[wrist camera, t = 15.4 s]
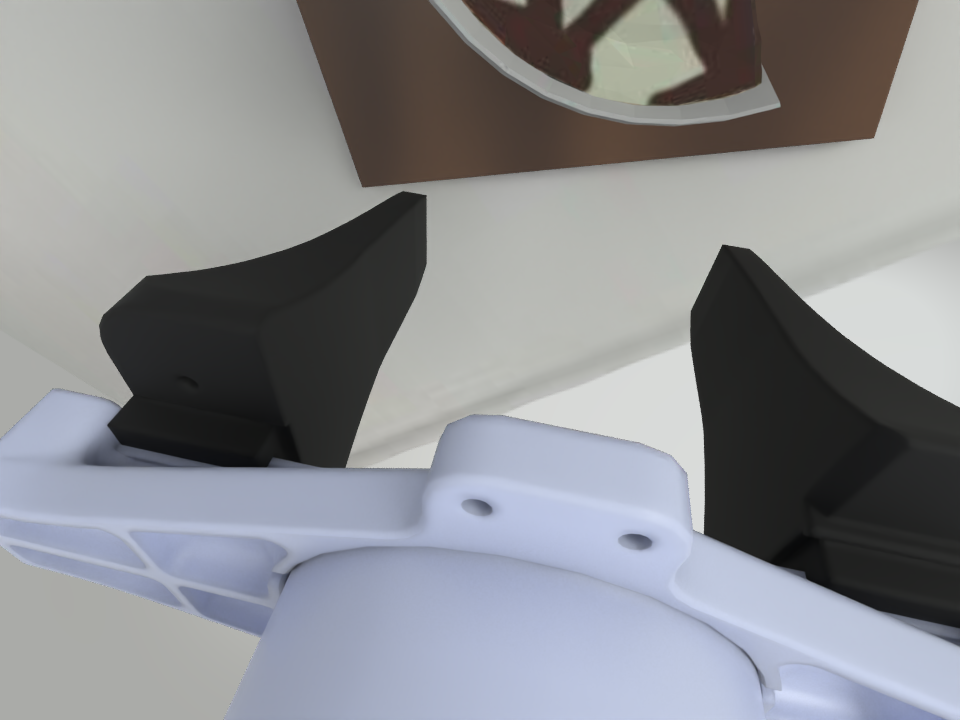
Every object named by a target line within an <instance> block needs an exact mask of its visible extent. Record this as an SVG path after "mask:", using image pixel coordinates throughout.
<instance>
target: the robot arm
mask: <svg viewBox="0 0 960 720" xmlns="http://www.w3.org/2000/svg"><path fill="white" fill-rule="evenodd" d="M426 264H427V237H426V195H422V194H416V193H410V192H404V191H402V192H400V193H398V194H396V195H394V196H393V197H391V198H389V199H387V200H386V201H384V202H382V203H381V204H379V205H377V206H375V207H374V208H372V209H370V210H369V211H367V212H365V213H363V214H362V215H360V216H358V217H356V218H355V219H353V220H351V221H349V222H347V223H345V224H343V225H341V226H339V227H337V228H335V229H333V230H331V231H329V232H327V233H325V234H323V235H321V236H319V237H317V238H315V239H312V240H310V241H307V242H305V243H302V244H300V245H297V246H294V247H292V248H289V249H286V250H283V251H280V252H276V253H273V254H269V255H266V256H262V257H259V258H255V259H252V260H248V261H244V262H240V263H235V264H231V265H226V266H220V267H215V268H209V269H203V270H197V271H189V272H180V273H171V274H163V275H153V276H146V277H145V278H144V279H143V280H142V281H140V282H139V283H138V284H137V285H136V286H135V287H134V288H133V289H132V290H130V291H129V292H128V293H127V294H126V295H125V296H124V297H123V298H122V299H121V300H119V301H118V302H117V303H116V304H115V305H114V306H113V307H112V308H111V309H110V310H108V311H107V312H106V313H105V314H104V315H103V317H102V319H101V322H100V324H99V328H100V337H101V340H102V343H103V345H104V347H105V349H106V351H107V353H108V355H109V356H110V358H111V360H112V361H113V363H114V364H115V366H116V368H117V369H118V371H119V372H120V374H121V376H122V377H123V379H124V380H125V382H126V384H127V385H128V387H129V388H130V390H131V392H132V393H133V395H134V396H133V397H132V398H131V399H130V400H129V401H128V402H127V403H126V404H125V406H124V407H123V408H121V407H120V406H119V405H117V404H116V403H114V402H113V401H111V400H108V399H105V398H102V397H97V396H92V395H87V394H83V393H78V392H74V391H69V390H64V389H52V390H51V391H50V392H49V393H48V394H47V395H46V396H45V397H43V399H41V400H40V401H39V402H38V403H37V404H36V405H35V406H34V407H33V408H32V409H31V410H30V411H29V412H28V413H27V414H26V415H25V416H24V417H22V418H21V419H20V420H19V421H18V422H17V423H16V424H15V425H14V426H13V427H12V428H11V429H10V430H9V431H8V432H7V433H6V434H5V435H4V436H3V437H1V438H0V546H1V547H3V548H4V549H5V550H7V551H8V552H9V553H11V554H12V555H13V556H15V557H16V558H17V559H19V560H20V561H21V562H23V563H24V564H27V565H31V566H35V567H39V568H42V569H47V570H50V571H54V572H58V573H61V574H65V575H69V576H73V577H76V578H80V579H83V580H87V581H90V582H93V583H97V584H100V585H104V586H107V587H110V588H113V589H117V590H120V591H123V592H126V593H129V594H132V595H135V596H138V597H141V598H145V599H147V600H151V601H153V602H157V603H159V604H163V605H165V606H168V607H171V608H174V609H177V610H180V611H183V612H186V613H189V614H192V615H195V616H198V617H201V618H204V619H207V620H210V621H213V622H216V623H219V624H222V625H224V626H227V627H230V628H234V629H236V630H239V631H242V632H246V633H248V634H252V635H254V636H257V637H260V638H261V639H260V641H259V643H258V645H257V647H256V649H255V652H254V654H253V656H252V658H251V660H250V663H249V665H248V667H247V669H246V671H245V674H244V676H243V678H242V680H241V683H240V685H239V687H238V689H237V691H236V693H235V696H234V698H233V700H232V702H231V704H230V706H229V709H228V711H227V713H226V715H225V717H224V719H223V720H960V407H958V406H955V405H954V404H952V403H950V402H948V401H946V400H944V399H942V398H940V397H938V396H936V395H935V394H933V393H931V392H929V391H927V390H926V389H923V388H922V387H920V386H918V385H917V384H915V383H913V382H912V381H910V380H908V379H907V378H905V377H903V376H902V375H900V374H898V373H897V372H895V371H894V370H892V369H890V368H889V367H887V366H886V365H884V364H882V363H881V362H879V361H878V360H876V359H875V358H874V357H872V356H871V355H869V354H868V353H867V352H865V351H864V350H862V349H861V348H860V347H858V346H857V345H856V344H854V343H853V342H851V341H850V340H849V339H847V338H846V337H845V336H843V335H842V334H841V333H840V332H838V331H837V330H836V329H835V328H833V327H832V326H831V325H830V324H829V323H828V322H826V321H825V320H824V319H823V318H822V317H821V316H820V315H818V314H817V313H816V312H815V311H814V310H813V309H812V308H811V307H810V306H809V305H807V304H806V303H805V302H804V301H803V300H802V299H801V298H800V297H799V296H798V295H797V294H796V293H795V292H794V291H793V290H792V289H791V288H790V287H789V286H788V285H787V284H786V283H785V282H784V281H783V280H782V279H781V278H780V277H779V276H778V275H777V274H776V273H775V272H774V271H773V270H772V269H771V268H770V267H769V266H768V265H767V264H766V263H765V262H764V261H763V260H762V259H761V258H759V257H758V256H757V255H756V254H755V253H754V252H752V251H751V250H750V249H746V248H740V247H734V246H728V245H722V247H721V249H720V251H719V253H718V255H717V258H716V260H715V262H714V264H713V266H712V268H711V270H710V272H709V274H708V276H707V278H706V281H705V283H704V285H703V287H702V289H701V291H700V293H699V295H698V297H697V299H696V302H695V304H694V306H693V308H692V310H691V327H690V336H691V352H692V358H693V365H694V371H695V377H696V384H697V390H698V396H699V402H700V408H701V414H702V422H703V430H704V458H705V515H704V534H702V533H699V532H697V531H695V530H693V527H692V518H691V508H690V498H689V488H688V480H687V479H688V478H687V473H686V472H685V471H684V469H683V468H682V467H681V466H680V465H679V464H678V463H677V461H676V460H675V459H674V458H673V457H672V456H671V455H669V454H667V453H664V452H662V451H660V450H657V449H654V448H652V447H649V446H647V445H644V444H641V443H638V442H633V441H628V440H623V439H618V438H613V437H608V436H603V435H598V434H593V433H588V432H583V431H578V430H573V429H568V428H563V427H558V426H553V425H548V424H544V423H539V422H534V421H528V420H523V419H518V418H513V417H509V416H504V415H478V414H474V415H470V416H467V417H465V418H462V419H460V420H457V421H455V422H452V423H450V424H447V426H446V428H445V430H444V432H443V434H442V436H441V438H440V440H439V442H438V446H437V449H436V452H435V455H434V459H433V462H432V465H431V468H430V469H422V468H420V469H417V468H345V467H346V464H347V461H348V458H349V454H350V451H351V448H352V445H353V442H354V439H355V436H356V433H357V429H358V427H359V424H360V421H361V418H362V415H363V412H364V409H365V406H366V403H367V401H368V398H369V395H370V392H371V390H372V387H373V384H374V381H375V379H376V376H377V373H378V371H379V368H380V366H381V364H382V362H383V359H384V357H385V355H386V353H387V351H388V349H389V347H390V345H391V343H392V342H393V340H394V338H395V336H396V334H397V332H398V330H399V328H400V326H401V324H402V322H403V320H404V318H405V316H406V314H407V312H408V310H409V308H410V306H411V304H412V302H413V300H414V298H415V296H416V294H417V291H418V288H419V286H420V283H421V280H422V277H423V274H424V270H425V267H426Z"/></svg>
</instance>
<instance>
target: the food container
mask: <svg viewBox="0 0 960 720" xmlns="http://www.w3.org/2000/svg"><path fill="white" fill-rule="evenodd" d="M429 2H430V3H431V4H432V5H433V7H434V8H435V9H436V10H437V11H438V12H439V13H440V15H441V16H442V17H443V18H444V19H445V20H446V21H447V23H448V24H449V25H450V26H451V27H452V28H453V29H454V31H455V32H456V33H457V34H458V35H459V36H460V37H461V39H462V40H463V41H464V42H465V43H466V44H467V45H468V46H469V47H471V48H472V49H473V50H474V51H475V52H477V53H478V54H479V55H480V56H481V57H482V58H484V59H485V60H486V61H487V62H488V63H490V64H491V65H492V66H493V67H494V68H495V69H497V70H498V71H499V72H500V73H501V74H502V75H504V76H506V77H507V78H509V79H511V80H512V81H514V82H516V83H517V84H519V85H521V86H522V87H524V88H526V89H527V90H529V91H531V92H532V93H534V94H536V95H537V96H539V97H541V98H542V99H545V100H547V101H550V102H552V103H555V104H557V105H560V106H563V107H565V108H568V109H570V110H573V111H575V112H578V113H580V114H583V115H587V116H591V117H596V118H601V119H606V120H610V121H615V122H620V123H624V124H635V125H656V126H682V125H692V124H701V123H711V122H720V121H726V120H730V119H734V118H738V117H742V116H747V115H751V114H755V113H759V112H763V111H767V110H771V109H774V108H779V107H780V101H779V99H778V97H777V95H776V93H775V91H774V89H773V87H772V85H771V82H770V80H769V78H768V76H767V74H766V72H765V70H764V68H763V66H762V64H761V44H762V40H761V35H760V31H759V27H758V22H757V13H756V3H755V0H429Z"/></svg>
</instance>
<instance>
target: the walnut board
mask: <svg viewBox="0 0 960 720" xmlns="http://www.w3.org/2000/svg"><path fill="white" fill-rule="evenodd" d="M918 1H919V0H755V3H756V13H757V22H758V27H759V31H760V35H761V40H762V44H761V64H762V66H763V68H764V70H765V72H766V74H767V76H768V78H769V80H770V82H771V85H772V87H773V89H774V91H775V93H776V95H777V97H778V99H779V101H780V107H779V108H774V109H771V110H767V111H763V112H759V113H755V114H751V115H747V116H742V117H738V118H734V119H730V120H726V121H720V122H711V123H701V124H692V125H682V126H656V125H635V124H624V123H620V122H615V121H610V120H606V119H601V118H596V117H591V116H587V115H583V114H580V113H578V112H575V111H573V110H570V109H568V108H565V107H563V106H560V105H557V104H555V103H552V102H550V101H547V100H545V99H542V98H541V97H539V96H537V95H536V94H534V93H532V92H531V91H529V90H527V89H526V88H524V87H522V86H521V85H519V84H517V83H516V82H514V81H512V80H511V79H509V78H507V77H506V76H504V75H502V74H501V73H500V72H499V71H498V70H497V69H495V68H494V67H493V66H492V65H491V64H490V63H488V62H487V61H486V60H485V59H484V58H482V57H481V56H480V55H479V54H478V53H477V52H475V51H474V50H473V49H472V48H471V47H469V46H468V45H467V44H466V43H465V42H464V41H463V40H462V39H461V37H460V36H459V35H458V34H457V33H456V32H455V31H454V29H453V28H452V27H451V26H450V25H449V24H448V23H447V21H446V20H445V19H444V18H443V17H442V16H441V15H440V13H439V12H438V11H437V10H436V9H435V8H434V7H433V5H432V4H431V3H430V2H429V0H297V3H298V6H299V9H300V12H301V15H302V17H303V20H304V23H305V26H306V29H307V32H308V34H309V37H310V40H311V43H312V46H313V49H314V51H315V54H316V57H317V60H318V63H319V65H320V68H321V71H322V74H323V77H324V80H325V82H326V85H327V88H328V91H329V94H330V97H331V99H332V102H333V105H334V108H335V111H336V114H337V116H338V119H339V122H340V125H341V128H342V130H343V133H344V136H345V139H346V142H347V145H348V147H349V150H350V153H351V156H352V159H353V162H354V164H355V167H356V170H357V173H358V176H359V179H360V181H361V184H362V187H374V186H384V185H394V184H405V183H415V182H426V181H436V180H446V179H457V178H467V177H477V176H488V175H498V174H509V173H519V172H529V171H540V170H550V169H560V168H571V167H581V166H592V165H602V164H612V163H623V162H633V161H643V160H654V159H664V158H675V157H685V156H695V155H706V154H716V153H726V152H737V151H747V150H758V149H768V148H778V147H789V146H799V145H809V144H820V143H830V142H841V141H851V140H861V139H872V138H874V136H875V133H876V130H877V127H878V124H879V121H880V118H881V115H882V112H883V108H884V105H885V102H886V99H887V96H888V93H889V90H890V87H891V84H892V81H893V78H894V75H895V71H896V68H897V65H898V62H899V59H900V56H901V53H902V50H903V47H904V44H905V41H906V38H907V34H908V31H909V28H910V25H911V22H912V19H913V16H914V13H915V10H916V7H917V4H918Z"/></svg>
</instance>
